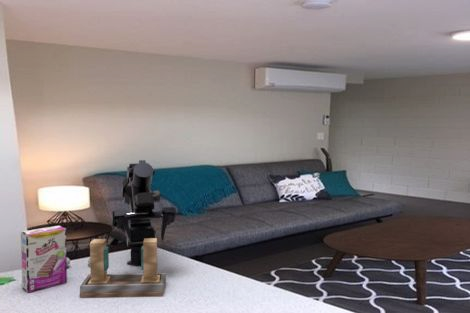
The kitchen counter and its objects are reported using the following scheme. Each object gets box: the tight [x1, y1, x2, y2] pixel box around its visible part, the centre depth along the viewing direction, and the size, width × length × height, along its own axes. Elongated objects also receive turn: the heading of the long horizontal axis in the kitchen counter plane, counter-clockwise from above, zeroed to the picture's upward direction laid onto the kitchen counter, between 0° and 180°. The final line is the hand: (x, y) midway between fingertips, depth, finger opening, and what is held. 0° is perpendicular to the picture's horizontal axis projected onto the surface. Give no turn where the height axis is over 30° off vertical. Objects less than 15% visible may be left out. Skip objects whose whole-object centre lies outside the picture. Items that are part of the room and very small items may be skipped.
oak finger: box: [140, 237, 160, 284], centre depth 122 cm, size 5×5×13 cm
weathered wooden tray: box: [79, 238, 167, 299], centre depth 121 cm, size 22×10×14 cm, turn 94°
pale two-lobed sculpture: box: [67, 257, 71, 267], centre depth 137 cm, size 4×8×5 cm
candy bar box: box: [20, 225, 68, 293], centre depth 123 cm, size 11×5×16 cm, turn 134°
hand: (146, 241), depth 126 cm, fingers open, 9 cm apart
